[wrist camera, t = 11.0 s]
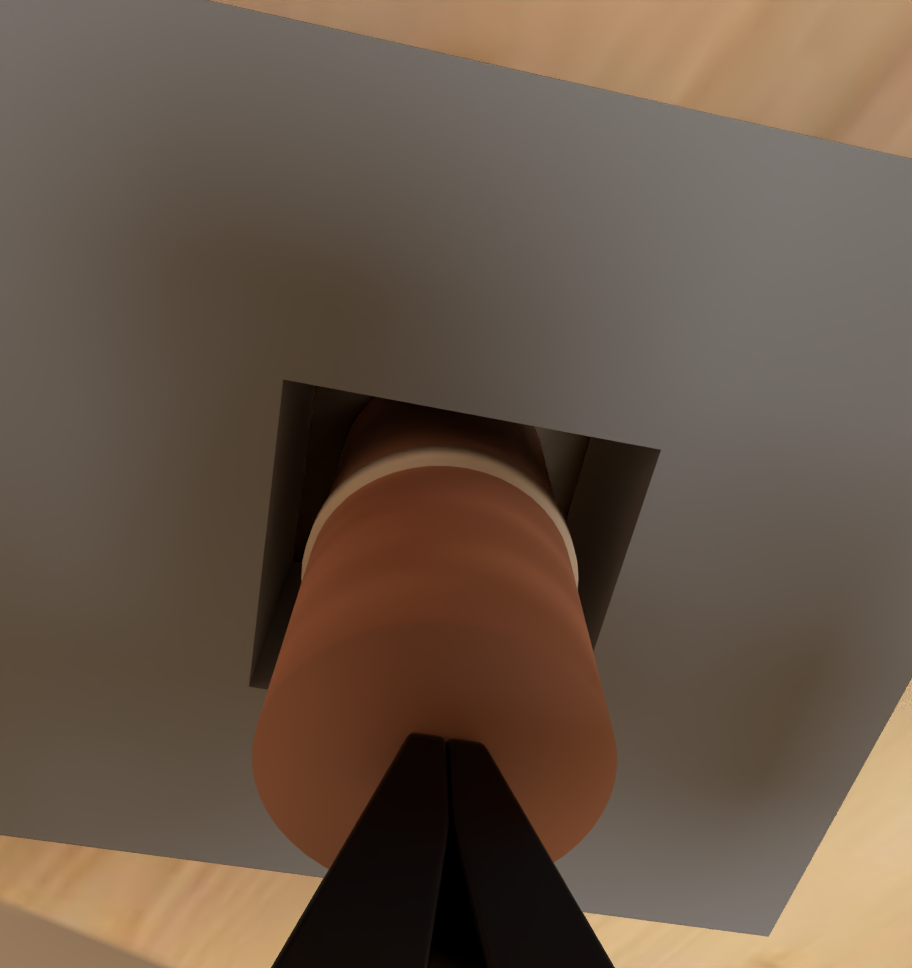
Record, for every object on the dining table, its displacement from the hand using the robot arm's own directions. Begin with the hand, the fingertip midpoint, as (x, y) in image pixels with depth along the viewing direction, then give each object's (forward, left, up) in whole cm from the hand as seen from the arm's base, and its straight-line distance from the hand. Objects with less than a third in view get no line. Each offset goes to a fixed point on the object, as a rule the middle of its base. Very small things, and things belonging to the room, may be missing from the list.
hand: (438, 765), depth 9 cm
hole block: (0, 0, -8) cm, 8 cm away
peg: (0, 0, -8) cm, 8 cm away
